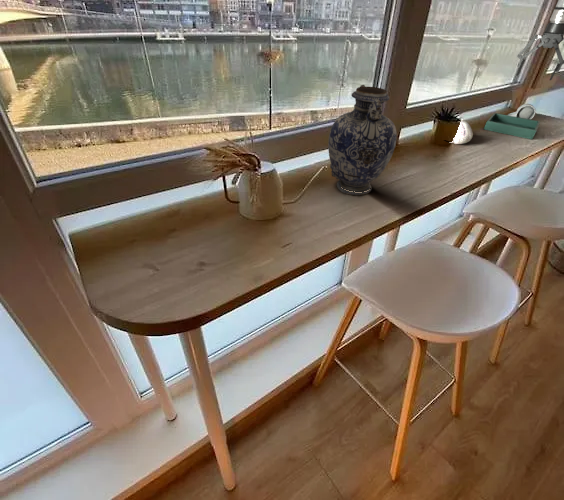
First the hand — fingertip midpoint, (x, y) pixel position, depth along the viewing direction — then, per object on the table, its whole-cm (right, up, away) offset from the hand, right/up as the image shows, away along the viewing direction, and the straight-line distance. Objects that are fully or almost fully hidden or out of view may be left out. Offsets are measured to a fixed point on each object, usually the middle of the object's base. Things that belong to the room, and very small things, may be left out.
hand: (533, 77), depth 152 cm
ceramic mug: (+2, -15, +13) cm, 20 cm away
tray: (-11, -25, 0) cm, 27 cm away
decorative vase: (-96, -62, -51) cm, 125 cm away
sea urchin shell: (-45, -34, -14) cm, 59 cm away
